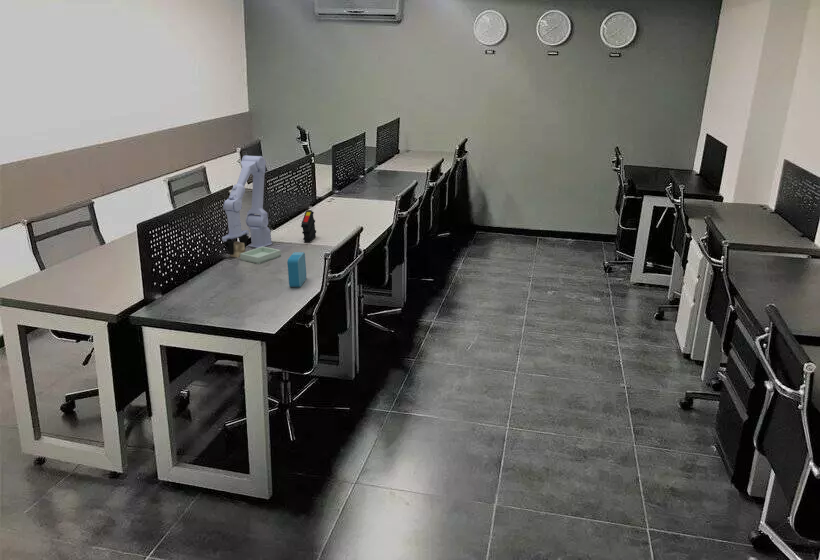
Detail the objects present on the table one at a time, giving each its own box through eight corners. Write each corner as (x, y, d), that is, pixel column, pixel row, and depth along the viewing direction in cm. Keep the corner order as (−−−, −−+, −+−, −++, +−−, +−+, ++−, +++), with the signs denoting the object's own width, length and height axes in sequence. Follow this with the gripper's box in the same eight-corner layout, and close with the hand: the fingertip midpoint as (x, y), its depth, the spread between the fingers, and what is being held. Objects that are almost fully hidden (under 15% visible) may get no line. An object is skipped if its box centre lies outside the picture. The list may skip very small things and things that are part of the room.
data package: (296, 278, 281) (294, 251, 277) (306, 278, 281) (304, 251, 277) (289, 288, 270) (286, 259, 266) (300, 288, 270) (298, 260, 266)
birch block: (238, 253, 317) (236, 241, 315) (245, 255, 314) (244, 242, 312) (230, 256, 313) (228, 243, 311) (237, 257, 310) (236, 245, 308)
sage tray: (263, 252, 318) (262, 246, 317) (281, 256, 311) (280, 250, 310) (240, 259, 307) (240, 253, 306) (258, 264, 300) (258, 257, 299)
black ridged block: (318, 232, 344) (313, 209, 333) (312, 249, 335) (307, 226, 324) (311, 232, 344) (305, 209, 334) (305, 249, 335) (299, 226, 325)
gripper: (240, 220, 316) (243, 247, 321) (216, 226, 305) (219, 255, 309) (250, 222, 312) (253, 249, 317) (226, 228, 301) (229, 257, 306)
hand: (237, 252), depth 313 cm, fingers open, 7 cm apart
